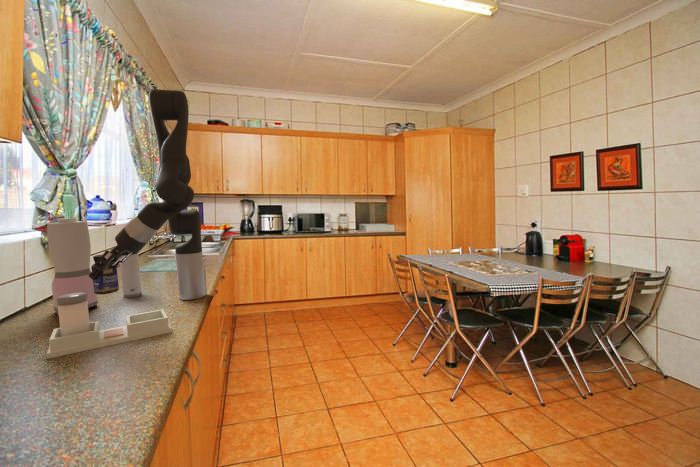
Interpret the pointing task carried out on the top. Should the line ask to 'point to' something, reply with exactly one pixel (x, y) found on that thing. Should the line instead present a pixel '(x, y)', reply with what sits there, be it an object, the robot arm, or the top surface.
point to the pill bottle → (106, 279)
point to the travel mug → (131, 276)
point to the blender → (71, 259)
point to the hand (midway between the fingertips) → (98, 275)
